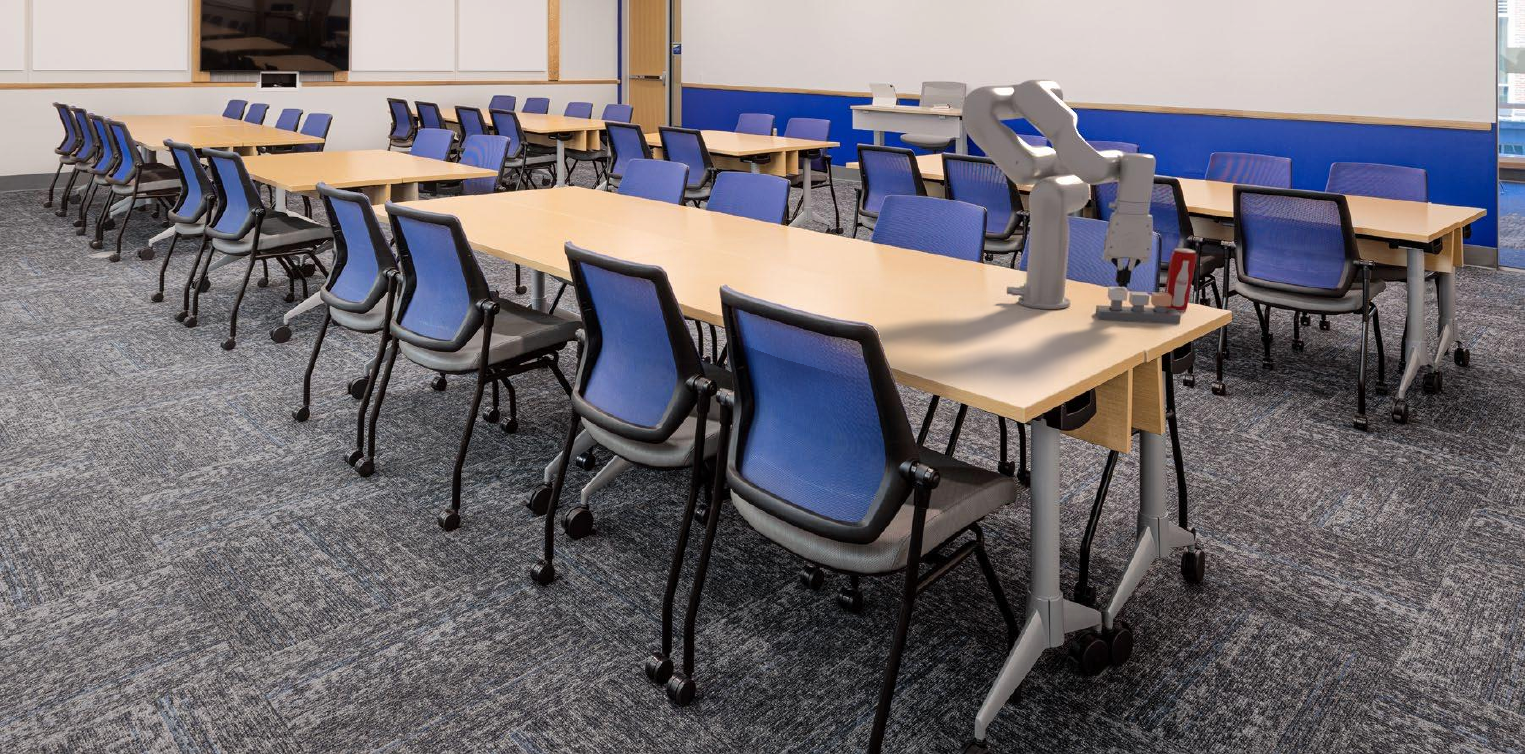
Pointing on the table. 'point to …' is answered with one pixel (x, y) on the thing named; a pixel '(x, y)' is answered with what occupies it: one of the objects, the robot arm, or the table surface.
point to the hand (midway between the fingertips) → (1122, 285)
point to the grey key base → (1137, 315)
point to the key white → (1117, 297)
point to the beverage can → (1180, 277)
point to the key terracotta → (1161, 301)
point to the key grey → (1139, 300)
